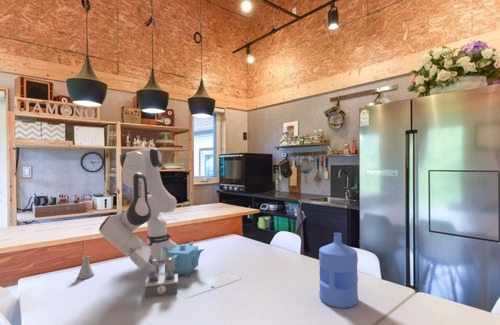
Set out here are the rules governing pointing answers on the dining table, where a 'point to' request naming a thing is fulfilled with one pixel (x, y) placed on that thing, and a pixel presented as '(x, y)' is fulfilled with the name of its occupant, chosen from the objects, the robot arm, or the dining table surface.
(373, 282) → the dining table surface
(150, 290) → the scale
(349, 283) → the water jug
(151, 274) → the ball
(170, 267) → the cylinder
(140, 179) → the robot arm
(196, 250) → the teakettle
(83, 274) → the flask
